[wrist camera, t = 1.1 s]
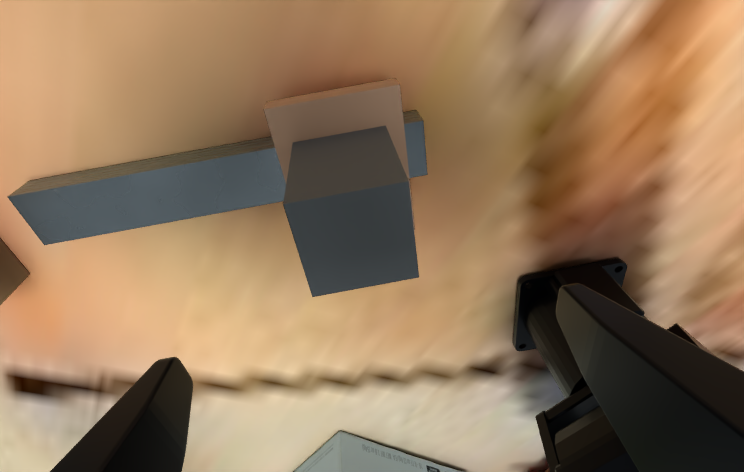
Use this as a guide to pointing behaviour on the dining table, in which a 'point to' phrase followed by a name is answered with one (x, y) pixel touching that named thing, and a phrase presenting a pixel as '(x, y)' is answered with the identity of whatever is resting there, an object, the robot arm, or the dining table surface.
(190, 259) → the dining table surface
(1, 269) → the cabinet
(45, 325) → the dining table surface
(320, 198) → the carriage
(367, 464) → the tea box
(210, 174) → the rail
